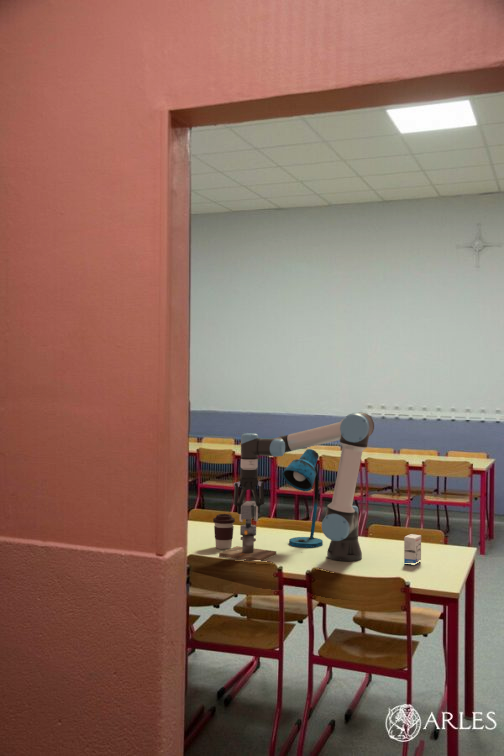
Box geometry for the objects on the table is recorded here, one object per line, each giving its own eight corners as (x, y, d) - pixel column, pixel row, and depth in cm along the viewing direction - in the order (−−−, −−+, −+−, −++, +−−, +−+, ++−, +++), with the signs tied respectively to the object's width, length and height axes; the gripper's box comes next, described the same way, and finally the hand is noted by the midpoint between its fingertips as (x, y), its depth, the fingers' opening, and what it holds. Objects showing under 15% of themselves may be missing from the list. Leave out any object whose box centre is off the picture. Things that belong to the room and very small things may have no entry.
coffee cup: (231, 550, 337) (232, 517, 337) (210, 549, 339) (210, 516, 339) (236, 545, 347) (236, 513, 347) (215, 544, 349) (216, 512, 349)
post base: (276, 554, 330) (276, 534, 330) (259, 562, 316) (260, 541, 316) (236, 549, 340) (237, 529, 340) (219, 556, 325) (219, 536, 326)
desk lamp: (275, 545, 348) (276, 449, 349) (303, 538, 365) (304, 447, 365) (302, 551, 338) (304, 452, 338) (330, 543, 355) (331, 449, 355)
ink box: (414, 566, 313) (415, 538, 313) (403, 564, 315) (403, 536, 316) (421, 562, 320) (421, 534, 320) (410, 560, 323) (410, 533, 323)
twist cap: (243, 531, 335) (243, 500, 335) (258, 532, 333) (259, 501, 333) (237, 536, 323) (237, 505, 323) (253, 537, 321) (253, 505, 321)
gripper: (230, 470, 322) (229, 523, 322) (272, 469, 327) (271, 521, 327) (226, 468, 329) (225, 520, 329) (267, 467, 335) (266, 518, 334)
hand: (248, 520), depth 328 cm, fingers closed on twist cap, 6 cm apart
